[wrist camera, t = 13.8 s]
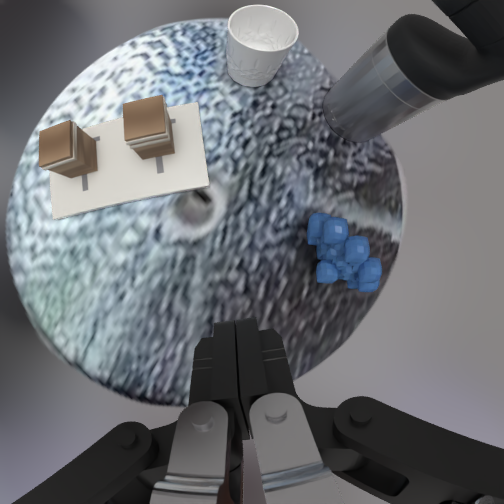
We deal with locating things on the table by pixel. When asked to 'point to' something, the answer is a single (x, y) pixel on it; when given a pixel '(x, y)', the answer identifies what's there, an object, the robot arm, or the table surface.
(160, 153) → the two band post
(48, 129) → the one band post
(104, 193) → the white rectangular board
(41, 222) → the table surface
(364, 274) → the grapes
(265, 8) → the white cup
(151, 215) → the table surface
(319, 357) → the table surface
